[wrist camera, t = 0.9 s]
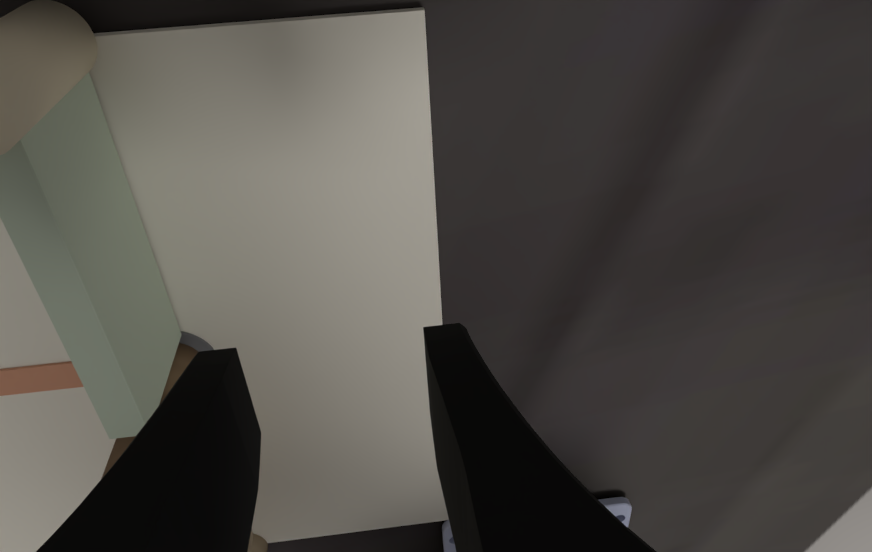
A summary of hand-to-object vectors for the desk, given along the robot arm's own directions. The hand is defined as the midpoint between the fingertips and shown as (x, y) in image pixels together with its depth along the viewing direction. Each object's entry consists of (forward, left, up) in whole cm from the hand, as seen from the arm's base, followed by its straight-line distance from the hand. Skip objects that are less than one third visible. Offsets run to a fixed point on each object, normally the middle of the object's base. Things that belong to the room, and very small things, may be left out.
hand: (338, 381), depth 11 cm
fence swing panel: (0, +6, -8) cm, 10 cm away
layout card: (-6, +6, -8) cm, 12 cm away
